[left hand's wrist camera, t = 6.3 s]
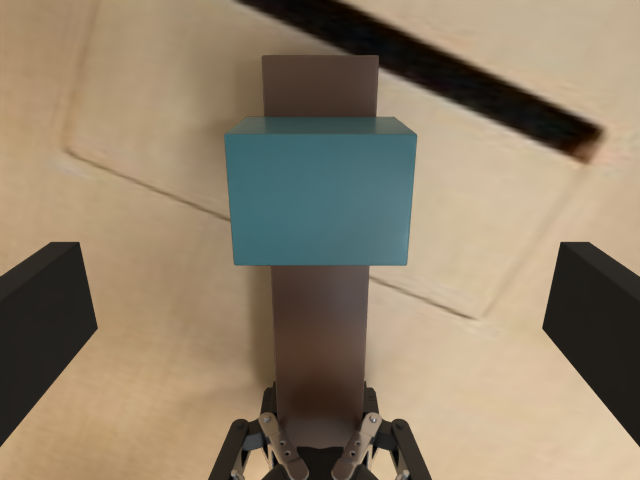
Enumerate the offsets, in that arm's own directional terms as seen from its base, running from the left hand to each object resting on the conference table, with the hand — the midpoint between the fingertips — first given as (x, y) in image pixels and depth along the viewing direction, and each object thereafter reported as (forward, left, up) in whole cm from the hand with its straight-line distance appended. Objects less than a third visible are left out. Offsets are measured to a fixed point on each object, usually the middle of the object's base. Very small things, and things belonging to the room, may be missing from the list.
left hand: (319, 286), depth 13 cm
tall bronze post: (+4, +7, -19) cm, 20 cm away
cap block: (0, 0, -14) cm, 14 cm away
